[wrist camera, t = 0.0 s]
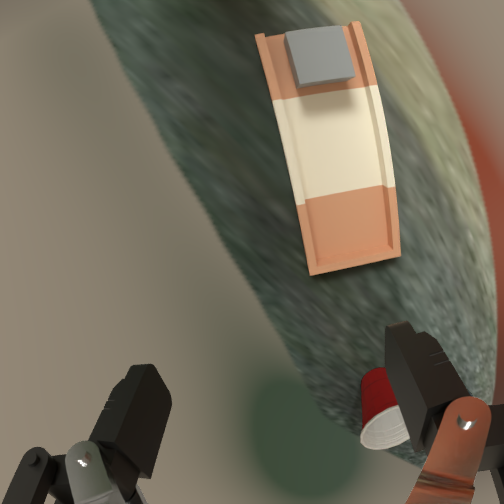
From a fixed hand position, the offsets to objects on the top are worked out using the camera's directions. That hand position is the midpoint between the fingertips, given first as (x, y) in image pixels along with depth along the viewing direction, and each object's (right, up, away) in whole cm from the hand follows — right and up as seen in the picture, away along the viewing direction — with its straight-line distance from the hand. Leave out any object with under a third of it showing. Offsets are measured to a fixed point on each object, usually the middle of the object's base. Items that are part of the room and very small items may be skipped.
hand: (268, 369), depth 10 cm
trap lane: (+9, +17, +24) cm, 31 cm away
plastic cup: (+21, -18, +38) cm, 47 cm away
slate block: (+7, +25, +20) cm, 33 cm away
